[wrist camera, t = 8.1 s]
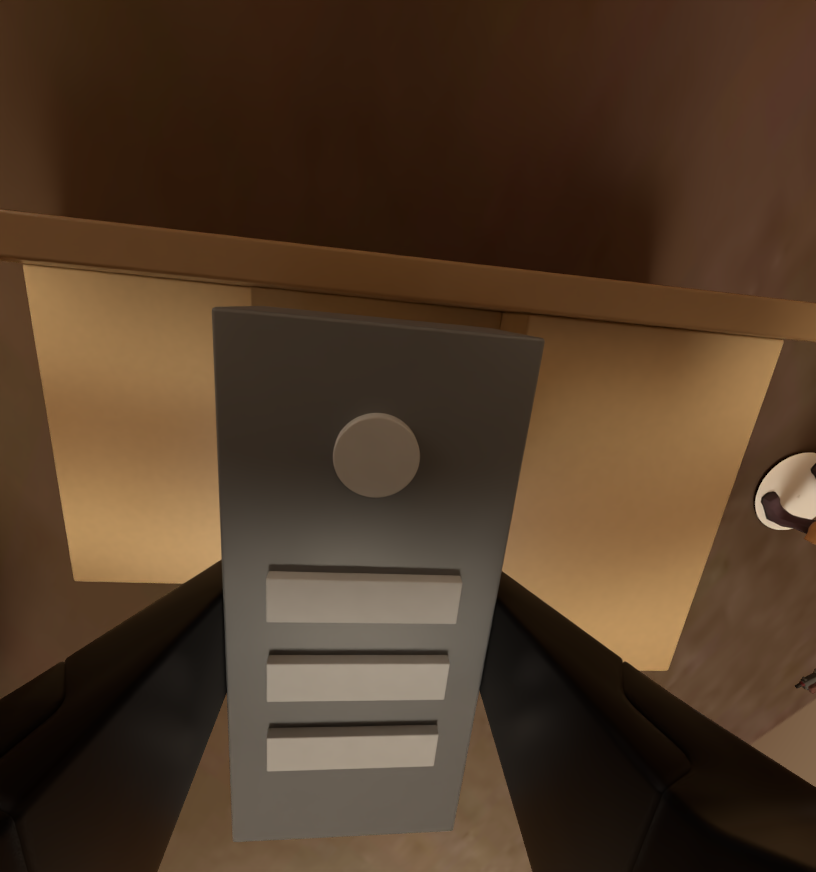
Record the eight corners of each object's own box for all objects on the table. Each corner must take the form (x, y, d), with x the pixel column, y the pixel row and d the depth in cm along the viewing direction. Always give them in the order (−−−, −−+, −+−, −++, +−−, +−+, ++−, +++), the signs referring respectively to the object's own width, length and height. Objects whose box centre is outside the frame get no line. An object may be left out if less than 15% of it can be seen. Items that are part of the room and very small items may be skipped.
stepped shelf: (582, 565, 20) (702, 713, 13) (105, 551, 17) (-78, 724, 10) (647, 306, 16) (864, 308, 9) (64, 243, 14) (-256, 179, 7)
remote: (434, 714, 11) (455, 846, 8) (263, 717, 11) (228, 859, 8) (492, 328, 8) (554, 340, 5) (260, 305, 8) (203, 306, 5)
